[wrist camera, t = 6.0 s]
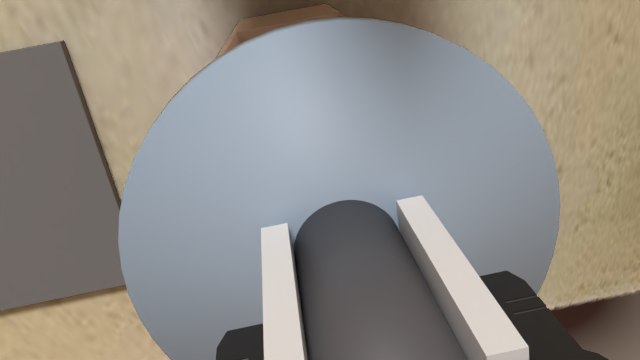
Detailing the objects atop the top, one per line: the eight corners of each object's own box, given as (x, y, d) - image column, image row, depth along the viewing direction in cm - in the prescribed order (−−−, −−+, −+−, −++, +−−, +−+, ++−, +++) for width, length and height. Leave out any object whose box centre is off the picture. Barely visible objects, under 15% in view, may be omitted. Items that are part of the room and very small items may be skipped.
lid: (190, 430, 19) (142, 786, 11) (61, 67, 14) (-208, 218, 6) (545, 353, 20) (755, 638, 11) (541, -24, 15) (912, -2, 6)
